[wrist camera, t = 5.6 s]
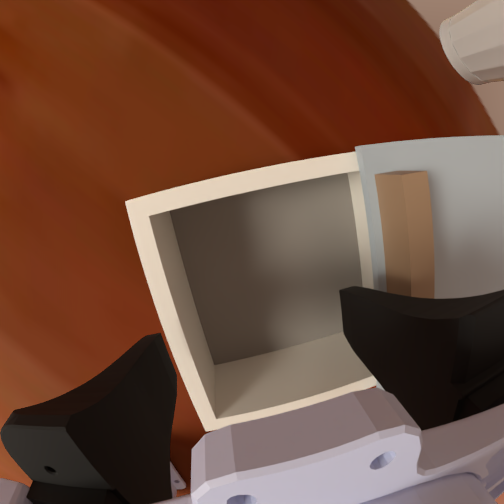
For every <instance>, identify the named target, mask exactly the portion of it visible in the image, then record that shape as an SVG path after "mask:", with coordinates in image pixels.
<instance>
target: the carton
mask: <svg viewBox="0 0 504 504" xmlns="http://www.w3.org/2000/svg"><path fill="white" fill-rule="evenodd" d="M125 203H126V207H127V211H128V215H129V219H130V223H131V227H132V231H133V234H134V238H135V242H136V245H137V249H138V252H139V256H140V259H141V262H142V266H143V269H144V272H145V276H146V279H147V282H148V285H149V288H150V291H151V294H152V298H153V301H154V304H155V306H156V309H157V312H158V315H159V318H160V321H161V324H162V327H163V329H164V332H165V335H166V338H167V340H168V343H169V346H170V348H171V351H172V354H173V356H174V359H175V361H176V364H177V366H178V369H179V371H180V374H181V376H182V379H183V381H184V384H185V386H186V388H187V391H188V393H189V395H190V398H191V400H192V402H193V405H194V407H195V409H196V411H197V414H198V416H199V418H200V420H201V422H202V424H203V427H204V429H205V431H212V430H218V429H220V428H223V427H226V426H228V425H231V424H236V423H241V422H246V421H251V420H255V419H260V418H264V417H268V416H272V415H276V414H280V413H284V412H288V411H292V410H295V409H299V408H302V407H306V406H309V405H313V404H316V403H319V402H323V401H326V400H329V399H332V398H335V397H338V396H341V395H344V394H347V393H350V392H353V391H360V390H365V389H367V388H370V387H373V386H375V385H376V382H377V380H376V378H375V377H374V376H373V375H372V374H371V372H370V371H369V370H368V369H367V367H366V366H365V365H364V364H363V363H362V361H361V360H360V359H359V358H358V356H357V355H356V354H355V352H354V351H353V350H352V348H351V346H350V344H349V343H348V341H347V339H346V337H345V335H344V333H343V322H342V312H341V303H340V293H339V290H341V289H344V288H348V287H351V286H359V287H365V288H370V289H374V284H373V271H372V260H371V250H370V241H369V233H368V224H367V217H366V210H365V203H364V196H363V190H362V183H361V177H360V172H359V166H358V161H357V155H356V152H350V153H343V154H337V155H330V156H324V157H318V158H312V159H306V160H300V161H295V162H289V163H284V164H278V165H273V166H268V167H263V168H258V169H253V170H248V171H244V172H239V173H234V174H230V175H225V176H221V177H217V178H212V179H208V180H204V181H200V182H196V183H191V184H187V185H183V186H180V187H176V188H172V189H168V190H164V191H160V192H157V193H153V194H149V195H146V196H142V197H139V198H135V199H132V200H128V201H125Z"/></svg>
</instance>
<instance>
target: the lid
mask: <svg viewBox="0 0 504 504" xmlns="http://www.w3.org/2000/svg"><path fill="white" fill-rule="evenodd" d="M355 150H356V155H357V161H358V166H359V172H360V177H361V183H362V190H363V196H364V203H365V210H366V217H367V224H368V233H369V241H370V250H371V260H372V271H373V284H374V290H379V291H383V292H388V293H393V294H398V295H404V296H410V297H418V298H433V299H446V298H463V297H471V296H478V295H484V294H488V293H492V292H496V291H500V290H504V136H503V135H499V136H465V137H446V138H432V139H419V140H408V141H398V142H388V143H379V144H371V145H363V146H357V147H355ZM376 388H379V389H382V390H384V389H383V387H382V386H381V385H380V383H379V382H378V381H377V382H376ZM384 391H385V390H384Z"/></svg>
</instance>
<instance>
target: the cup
mask: <svg viewBox="0 0 504 504" xmlns="http://www.w3.org/2000/svg"><path fill="white" fill-rule="evenodd" d="M440 40H441V44H442V47H443V50H444V52H445V54H446V56H447V58H448V60H449V61H450V63H451V64H452V66H453V67H454V68H455V70H456V71H457V72H458V73H459V74H460V75H461V76H462V77H463V78H464V79H466V80H467V81H468V82H470V83H472V84H476V85H481V84H485V83H489V82H496V81H504V0H477V1H476V2H474V3H473V4H471V5H470V6H468V7H467V8H465V9H464V10H462V11H461V12H459V13H458V14H456V15H454V16H452V17H450V18H448V19H447V20H445V21H443V22H442V24H441V26H440Z"/></svg>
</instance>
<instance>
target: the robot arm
mask: <svg viewBox="0 0 504 504" xmlns="http://www.w3.org/2000/svg"><path fill="white" fill-rule="evenodd" d="M339 293H340V303H341V312H342V322H343V333H344V335H345V337H346V339H347V341H348V343H349V344H350V346H351V348H352V350H353V351H354V352H355V354H356V355H357V356H358V358H359V359H360V360H361V361H362V363H363V364H364V365H365V366H366V367H367V369H368V370H369V371H370V372H371V374H372V375H373V376H374V377H375V378H376V380H377V381H378V382H379V383H380V385H381V386H382V387H383V389H384V390H385V391H384V390H382V389H379V388H372V389H366V390H360V391H353V392H350V393H347V394H344V395H341V396H338V397H335V398H332V399H329V400H326V401H323V402H319V403H316V404H313V405H309V406H306V407H302V408H299V409H295V410H292V411H288V412H284V413H280V414H276V415H272V416H268V417H264V418H260V419H255V420H251V421H246V422H241V423H236V424H231V425H228V426H226V427H223V428H220V429H218V430H215V431H212V432H210V433H207V434H205V435H204V436H203V437H202V438H201V439H200V440H199V442H198V443H197V444H196V445H195V446H194V447H193V448H192V458H191V493H190V494H187V495H183V496H180V497H176V493H177V489H184V488H186V483H185V482H184V481H183V479H182V478H181V476H180V475H179V473H178V472H177V470H176V469H175V468H174V466H173V465H172V463H171V461H170V439H171V431H172V424H173V417H174V411H175V404H176V396H177V374H176V372H175V369H174V367H173V364H172V362H171V359H170V357H169V354H168V352H167V349H166V346H165V344H164V341H163V338H162V336H161V333H157V334H152V335H147V336H145V337H143V338H142V339H141V340H139V341H138V342H137V343H136V344H135V345H133V346H132V347H131V348H130V349H129V350H128V351H127V352H125V353H124V354H123V355H122V356H121V357H120V358H119V359H117V360H116V361H115V362H114V363H112V364H111V365H110V366H109V367H108V368H106V369H105V370H104V371H102V372H101V373H100V374H98V375H97V376H95V377H94V378H92V379H91V380H89V381H88V382H86V383H84V384H83V385H81V386H79V387H77V388H75V389H73V390H71V391H69V392H67V393H66V394H63V395H61V396H59V397H56V398H54V399H51V400H49V401H46V402H43V403H40V404H37V405H33V406H29V407H25V408H21V409H17V410H14V411H13V412H12V414H11V415H10V417H9V418H8V420H7V421H6V423H5V424H4V426H3V427H2V429H1V432H0V434H1V440H2V442H3V444H4V446H5V449H6V450H7V451H8V453H9V454H10V456H11V457H12V458H13V459H14V460H15V462H16V463H17V464H18V465H19V466H20V467H21V469H22V470H23V471H24V472H25V473H26V474H27V475H28V476H29V477H30V478H31V480H33V482H32V484H31V487H30V488H29V487H28V486H26V485H25V484H23V483H20V482H16V481H12V480H8V479H4V478H1V479H0V504H497V502H496V501H495V499H496V498H498V497H499V496H500V495H501V494H502V493H503V492H504V290H500V291H496V292H492V293H488V294H484V295H478V296H471V297H463V298H446V299H433V298H418V297H410V296H404V295H398V294H393V293H388V292H383V291H379V290H374V289H370V288H365V287H359V286H351V287H348V288H344V289H341V290H339Z"/></svg>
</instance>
